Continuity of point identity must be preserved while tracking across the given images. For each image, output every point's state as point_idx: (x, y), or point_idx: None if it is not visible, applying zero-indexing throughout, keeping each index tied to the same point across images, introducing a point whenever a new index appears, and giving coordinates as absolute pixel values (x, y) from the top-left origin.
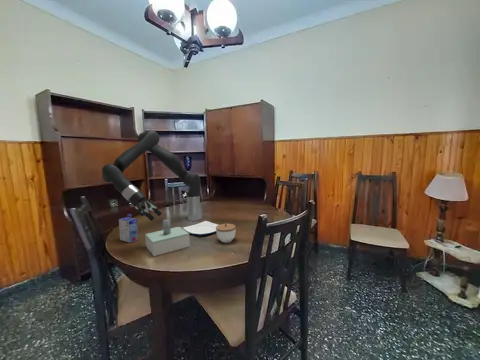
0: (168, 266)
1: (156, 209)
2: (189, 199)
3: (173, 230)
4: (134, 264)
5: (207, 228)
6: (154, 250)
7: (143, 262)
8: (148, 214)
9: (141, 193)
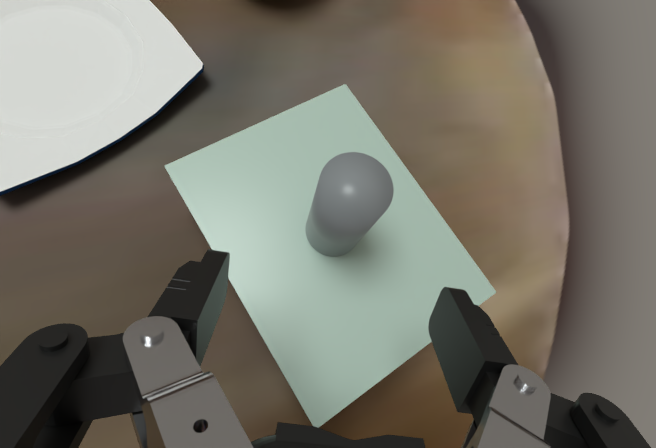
0: (541, 202)
1: (197, 322)
2: None
3: (262, 194)
4: None
5: (27, 42)
6: None
7: (515, 335)
8: (509, 363)
9: None
